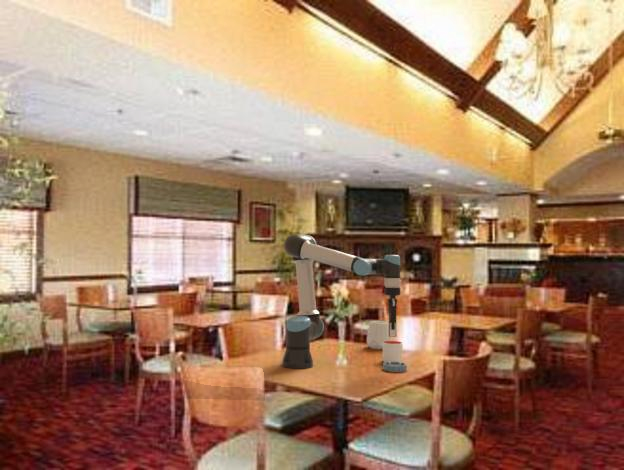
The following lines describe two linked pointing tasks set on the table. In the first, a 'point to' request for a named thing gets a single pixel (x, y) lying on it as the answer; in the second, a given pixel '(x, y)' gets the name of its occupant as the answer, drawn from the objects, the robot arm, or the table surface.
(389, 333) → the wooden rectangular block
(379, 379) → the table surface
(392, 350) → the cup
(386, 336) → the vase
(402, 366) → the blue bowl
